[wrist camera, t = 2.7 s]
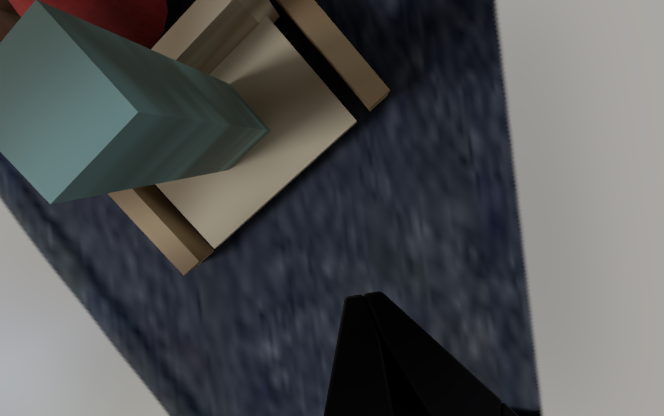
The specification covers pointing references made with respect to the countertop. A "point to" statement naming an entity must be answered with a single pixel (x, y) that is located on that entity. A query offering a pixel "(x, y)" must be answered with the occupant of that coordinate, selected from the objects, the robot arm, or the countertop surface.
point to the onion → (114, 16)
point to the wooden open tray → (164, 109)
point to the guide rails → (165, 219)
